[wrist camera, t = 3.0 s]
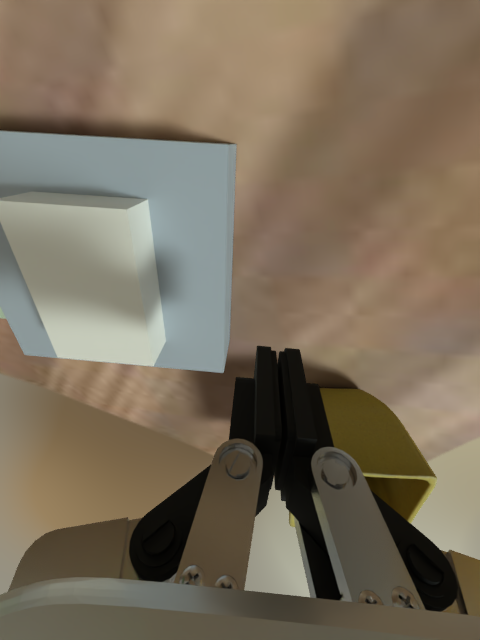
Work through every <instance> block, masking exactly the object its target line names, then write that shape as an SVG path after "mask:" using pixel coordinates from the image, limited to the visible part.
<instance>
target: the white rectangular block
mask: <svg viewBox="0 0 480 640" xmlns="http://www.w3.org/2000/svg"><path fill="white" fill-rule="evenodd" d="M0 223H1V225H2V227H3V230H4V232H5V235H6V237H7V239H8V242H9V244H10V246H11V249H12V251H13V253H14V256H15V258H16V261H17V263H18V265H19V268H20V270H21V272H22V275H23V277H24V279H25V282H26V284H27V287H28V289H29V291H30V294H31V296H32V298H33V301H34V303H35V305H36V308H37V310H38V313H39V315H40V317H41V320H42V322H43V324H44V327H45V329H46V331H47V334H48V336H49V339H50V341H51V343H52V346H53V348H54V350H55V353H56V355H57V357H58V358H68V359H78V360H89V361H100V362H111V363H122V364H133V365H144V366H154V364H155V362H156V360H157V358H158V356H159V354H160V352H161V350H162V348H163V346H164V344H165V342H166V337H165V329H164V321H163V313H162V306H161V298H160V290H159V282H158V274H157V266H156V259H155V251H154V243H153V235H152V227H151V219H150V212H149V204H148V199H137V198H122V197H107V196H93V195H78V194H63V193H48V192H33V191H32V192H27V193H22V194H18V195H13V196H8V197H4V198H0Z"/></svg>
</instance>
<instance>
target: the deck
mask: <svg viewBox="0 0 480 640" xmlns="http://www.w3.org/2000/svg"><path fill="white" fill-rule="evenodd" d="M235 171H236V144H226V143H209V142H192V141H175V140H158V139H142V138H125V137H108V136H91V135H74V134H57V133H40V132H23V131H6V130H0V198H4V197H8V196H13V195H18V194H22V193H27V192H32V191H33V192H48V193H63V194H78V195H93V196H107V197H122V198H137V199H148V204H149V212H150V219H151V227H152V235H153V243H154V251H155V259H156V266H157V274H158V282H159V290H160V298H161V306H162V313H163V321H164V329H165V337H166V342H165V344H164V346H163V348H162V350H161V352H160V354H159V356H158V358H157V360H156V362H155V364H154V366H152V367H163V368H174V369H185V370H196V371H207V372H218V373H224V368H225V362H226V357H227V351H228V346H229V340H230V314H231V285H232V257H233V228H234V199H235ZM0 307H1V309H2V311H3V313H4V315H5V317H6V319H7V321H8V323H9V325H10V327H11V329H12V331H13V333H14V335H15V337H16V339H17V341H18V343H19V345H20V347H21V348H22V350H23V352H24V354H25V355H31V356H42V357H53V358H58V357H57V355H56V353H55V350H54V348H53V346H52V343H51V341H50V339H49V336H48V334H47V331H46V329H45V327H44V324H43V322H42V320H41V317H40V315H39V313H38V310H37V308H36V305H35V303H34V301H33V298H32V296H31V294H30V291H29V289H28V287H27V284H26V282H25V279H24V277H23V275H22V272H21V270H20V268H19V265H18V263H17V261H16V258H15V256H14V253H13V251H12V249H11V246H10V244H9V242H8V239H7V237H6V235H5V232H4V230H3V227H2V225H1V223H0ZM64 359H68V358H64ZM75 360H78V359H75ZM86 361H89V360H86ZM97 362H100V361H97ZM108 363H111V362H108ZM119 364H122V363H119ZM130 365H133V364H130ZM141 366H144V365H141Z"/></svg>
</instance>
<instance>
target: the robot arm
mask: <svg viewBox="0 0 480 640" xmlns="http://www.w3.org/2000/svg"><path fill="white" fill-rule="evenodd" d="M273 477H275V489H276V490H281V500H282V501H286V508H287V509H288V510H289V511H290V512H291V514H292V515H293V516H294V523H295V528H296V533H297V537H298V541H299V546H300V550H301V556H302V560H303V565H304V569H305V574H306V578H307V583H308V587H309V592H310V597H311V598H309V597H301V596H291V595H282V594H272V593H262V592H254V591H244V587H245V581H246V574H247V567H248V561H249V554H250V548H251V541H252V534H253V528H254V521H255V517H256V516H257V515H258V514H259V512H260V511H261V510H262V509H263V508H264V507H265V506H266V504H267V500H268V495H269V490H270V489H271V486H272V482H273ZM0 640H480V560H477V559H475V558H472V557H469V556H466V555H463V554H461V553H458V552H455V551H452V550H449V551H448V552H445V551H441V550H439V548H438V547H437V546H436V545H435V544H434V543H433V542H431V541H430V540H429V539H428V538H427V537H425V535H423V534H422V533H421V532H420V531H419V530H417V529H416V528H415V527H414V526H413V525H412V524H410V523H409V522H408V521H407V520H406V519H405V518H403V517H402V516H401V515H400V514H399V513H397V512H396V511H395V510H394V509H393V508H392V507H390V506H389V505H388V504H387V503H386V502H384V501H383V500H382V499H381V498H380V497H379V496H377V495H376V494H375V493H374V492H373V491H372V490H370V488H369V486H368V484H367V482H366V480H365V477H364V475H363V473H362V471H361V469H360V467H359V466H358V464H357V462H356V461H355V460H354V459H353V458H352V457H351V456H350V455H349V454H347V453H346V452H344V451H343V450H340V449H338V448H335V447H334V444H333V440H332V436H331V432H330V428H329V424H328V420H327V416H326V412H325V408H324V404H323V400H322V396H321V392H320V388H319V385H318V384H311V383H306V379H305V374H304V369H303V364H302V359H301V354H300V350H299V349H290V348H285V350H284V352H282V351H280V352H279V358H278V364H277V358H276V351H271V347H265V346H257V352H256V361H255V371H254V379H252V378H240V377H236V381H235V390H234V399H233V408H232V417H231V426H230V435H229V440H228V441H226V442H224V443H222V444H221V446H220V447H219V448H218V449H217V451H216V453H215V455H214V458H213V461H212V464H211V465H210V466H209V467H207V468H206V469H205V470H203V471H202V472H201V473H199V474H198V475H197V476H196V477H194V478H193V479H192V480H190V481H189V482H188V483H187V484H185V485H184V486H182V487H181V488H180V489H178V490H177V491H176V492H175V493H173V494H172V495H171V496H170V497H168V498H167V499H165V500H164V501H163V502H162V503H160V504H159V505H158V506H156V507H155V508H154V509H152V510H151V511H150V512H148V513H147V514H146V515H145V516H144V517H143V518H140V519H134V520H129V519H128V517H127V518H122V519H116V520H110V521H104V522H98V523H92V524H86V525H80V526H75V527H68V528H63V529H57V530H54V531H51V532H48V533H46V534H44V535H43V536H41V537H40V538H39V539H37V540H36V541H35V542H34V543H33V544H32V545H31V546H30V547H29V548H28V550H27V551H26V552H25V554H24V556H23V557H22V559H21V561H20V563H19V565H18V567H17V570H16V573H15V575H14V578H13V580H12V583H11V585H10V588H9V590H8V592H7V593H4V594H1V595H0Z"/></svg>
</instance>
